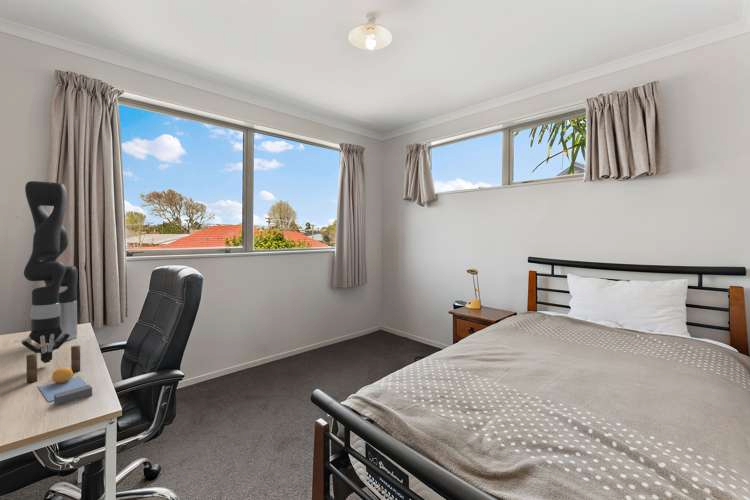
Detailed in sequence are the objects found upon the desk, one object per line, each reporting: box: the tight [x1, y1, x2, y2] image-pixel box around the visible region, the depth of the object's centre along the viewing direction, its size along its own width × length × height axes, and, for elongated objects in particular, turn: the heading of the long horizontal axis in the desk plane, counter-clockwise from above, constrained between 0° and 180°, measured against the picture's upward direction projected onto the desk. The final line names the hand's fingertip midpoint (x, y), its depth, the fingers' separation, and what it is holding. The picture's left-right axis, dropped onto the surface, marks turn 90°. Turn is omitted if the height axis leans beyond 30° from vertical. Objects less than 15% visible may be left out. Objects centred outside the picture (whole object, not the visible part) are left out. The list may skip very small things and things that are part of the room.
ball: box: [51, 366, 74, 383], centre depth 108 cm, size 5×5×5 cm
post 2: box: [70, 344, 81, 374], centre depth 116 cm, size 2×2×9 cm
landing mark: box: [38, 376, 88, 403], centre depth 104 cm, size 14×10×1 cm
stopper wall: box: [53, 384, 93, 407], centre depth 98 cm, size 3×8×2 cm, turn 145°
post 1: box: [25, 353, 38, 384], centre depth 107 cm, size 2×2×9 cm
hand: (46, 362), depth 119 cm, fingers closed
